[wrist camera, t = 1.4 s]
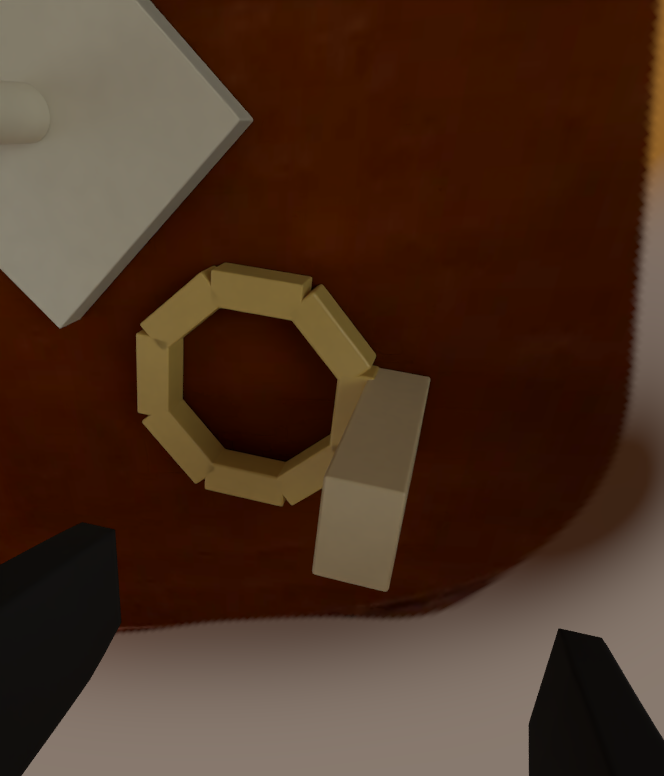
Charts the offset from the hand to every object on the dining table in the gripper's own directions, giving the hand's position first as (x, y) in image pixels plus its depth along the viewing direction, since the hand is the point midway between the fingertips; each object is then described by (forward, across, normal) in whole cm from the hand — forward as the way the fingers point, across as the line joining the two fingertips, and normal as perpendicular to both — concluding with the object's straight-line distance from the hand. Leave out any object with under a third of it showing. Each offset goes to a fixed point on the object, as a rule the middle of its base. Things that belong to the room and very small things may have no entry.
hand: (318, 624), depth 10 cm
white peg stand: (+8, +10, -7) cm, 15 cm away
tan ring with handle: (+8, +4, 0) cm, 9 cm away
